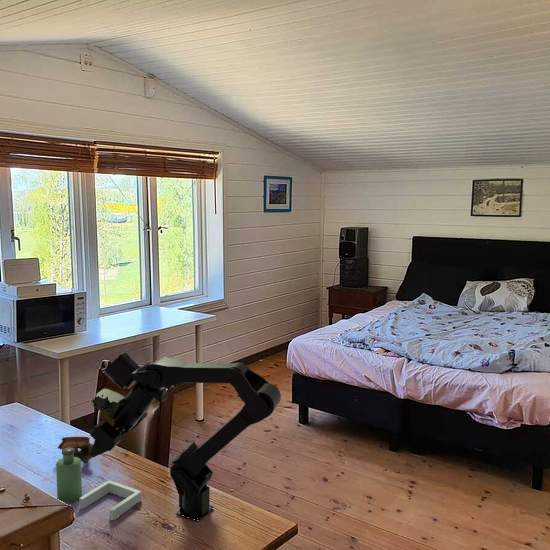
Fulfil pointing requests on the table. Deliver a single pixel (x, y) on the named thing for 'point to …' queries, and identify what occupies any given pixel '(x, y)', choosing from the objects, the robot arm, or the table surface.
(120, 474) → the table surface
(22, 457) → the table surface
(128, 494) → the u rest
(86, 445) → the pottery mug
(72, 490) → the bottle
